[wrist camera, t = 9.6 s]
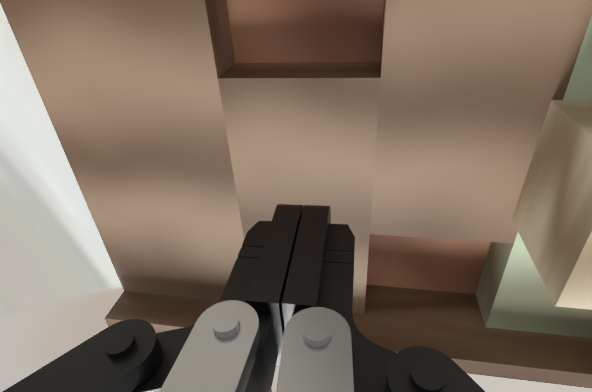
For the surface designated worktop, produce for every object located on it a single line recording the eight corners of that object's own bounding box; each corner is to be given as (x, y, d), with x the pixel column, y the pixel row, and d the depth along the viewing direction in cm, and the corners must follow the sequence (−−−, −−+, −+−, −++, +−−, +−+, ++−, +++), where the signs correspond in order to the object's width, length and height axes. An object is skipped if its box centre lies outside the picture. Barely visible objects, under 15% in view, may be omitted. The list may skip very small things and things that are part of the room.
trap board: (7, -117, 14) (-165, -144, 10) (876, -208, 10) (1309, -338, 5) (149, 273, 25) (99, 345, 21) (587, 312, 21) (647, 416, 16)
